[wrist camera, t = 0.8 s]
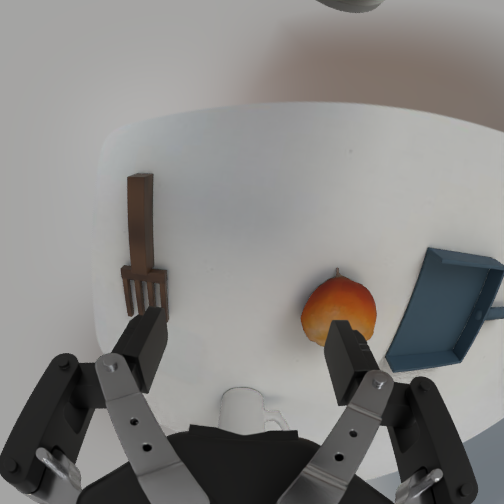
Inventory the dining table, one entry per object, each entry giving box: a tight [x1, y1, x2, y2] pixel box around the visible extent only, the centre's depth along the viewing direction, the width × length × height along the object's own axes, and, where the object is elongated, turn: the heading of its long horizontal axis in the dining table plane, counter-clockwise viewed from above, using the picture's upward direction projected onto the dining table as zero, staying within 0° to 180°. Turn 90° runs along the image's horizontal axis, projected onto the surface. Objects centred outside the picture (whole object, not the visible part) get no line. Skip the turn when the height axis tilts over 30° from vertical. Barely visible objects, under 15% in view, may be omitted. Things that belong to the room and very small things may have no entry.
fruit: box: [301, 268, 377, 347], centre depth 28 cm, size 8×8×8 cm
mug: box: [218, 388, 290, 435], centre depth 32 cm, size 10×7×12 cm, turn 96°
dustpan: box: [385, 248, 504, 373], centre depth 30 cm, size 24×17×3 cm
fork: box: [121, 173, 169, 322], centre depth 27 cm, size 16×5×2 cm, turn 174°
